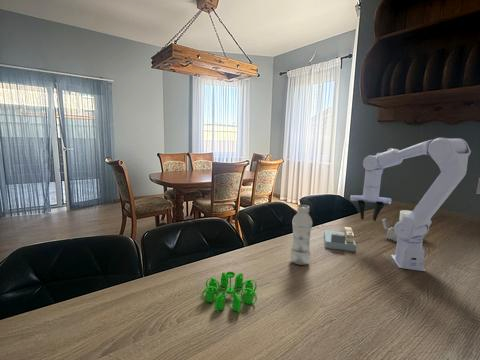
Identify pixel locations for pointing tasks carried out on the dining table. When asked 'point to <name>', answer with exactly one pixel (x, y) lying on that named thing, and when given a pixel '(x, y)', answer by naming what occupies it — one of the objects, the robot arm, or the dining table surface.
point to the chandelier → (230, 291)
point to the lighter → (389, 231)
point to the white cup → (404, 214)
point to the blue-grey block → (337, 241)
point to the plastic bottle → (301, 236)
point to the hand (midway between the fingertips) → (368, 219)
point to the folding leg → (349, 234)
